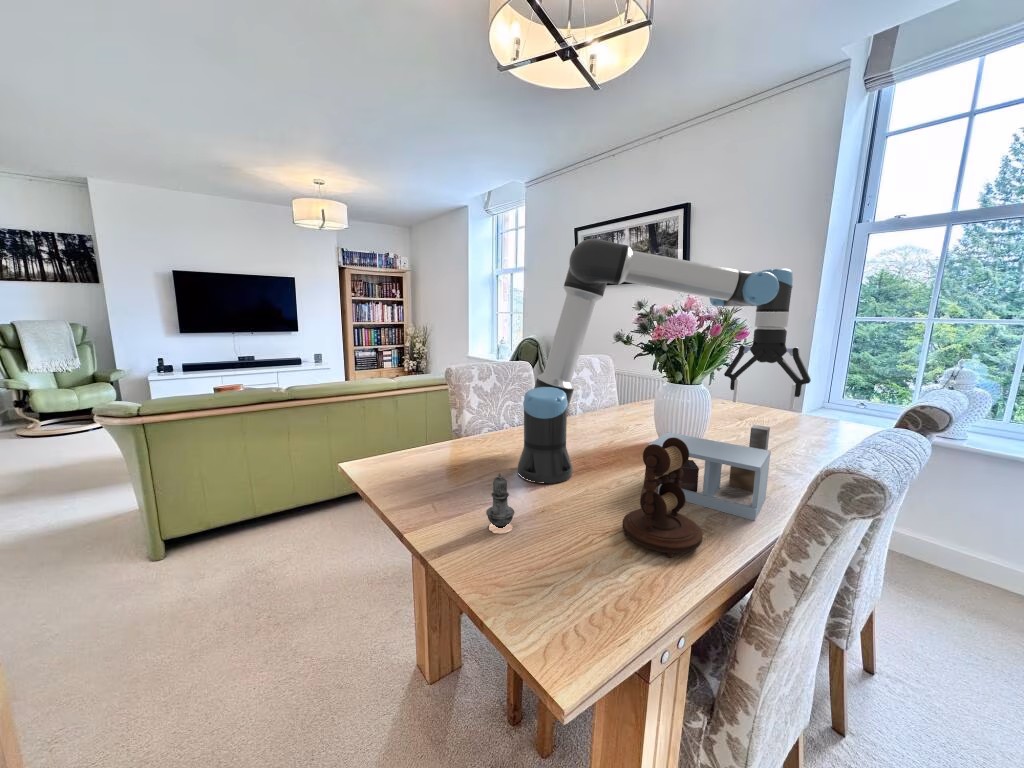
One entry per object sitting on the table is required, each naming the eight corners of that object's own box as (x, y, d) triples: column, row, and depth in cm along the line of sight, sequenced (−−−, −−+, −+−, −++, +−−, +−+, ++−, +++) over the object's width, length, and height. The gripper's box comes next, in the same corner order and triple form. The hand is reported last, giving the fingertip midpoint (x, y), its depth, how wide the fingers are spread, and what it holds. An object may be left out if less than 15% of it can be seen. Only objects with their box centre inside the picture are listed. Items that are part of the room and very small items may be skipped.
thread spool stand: (649, 512, 91) (654, 426, 87) (715, 541, 79) (724, 443, 76) (607, 535, 82) (610, 439, 78) (675, 570, 70) (683, 460, 67)
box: (697, 497, 98) (699, 468, 97) (671, 495, 99) (672, 466, 98) (691, 486, 104) (693, 459, 103) (666, 485, 105) (668, 458, 104)
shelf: (645, 490, 102) (648, 444, 100) (665, 474, 112) (667, 432, 110) (754, 520, 87) (760, 467, 85) (765, 498, 97) (771, 450, 95)
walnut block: (728, 486, 104) (732, 441, 102) (746, 463, 120) (749, 424, 118) (755, 492, 101) (760, 446, 98) (769, 468, 116) (774, 427, 114)
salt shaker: (504, 538, 81) (504, 481, 79) (480, 530, 84) (479, 475, 82) (519, 525, 86) (519, 471, 84) (496, 518, 89) (496, 465, 87)
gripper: (829, 329, 105) (818, 408, 108) (723, 327, 121) (717, 396, 124) (827, 329, 99) (816, 414, 103) (716, 327, 115) (710, 400, 119)
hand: (762, 404), depth 114 cm, fingers open, 13 cm apart
